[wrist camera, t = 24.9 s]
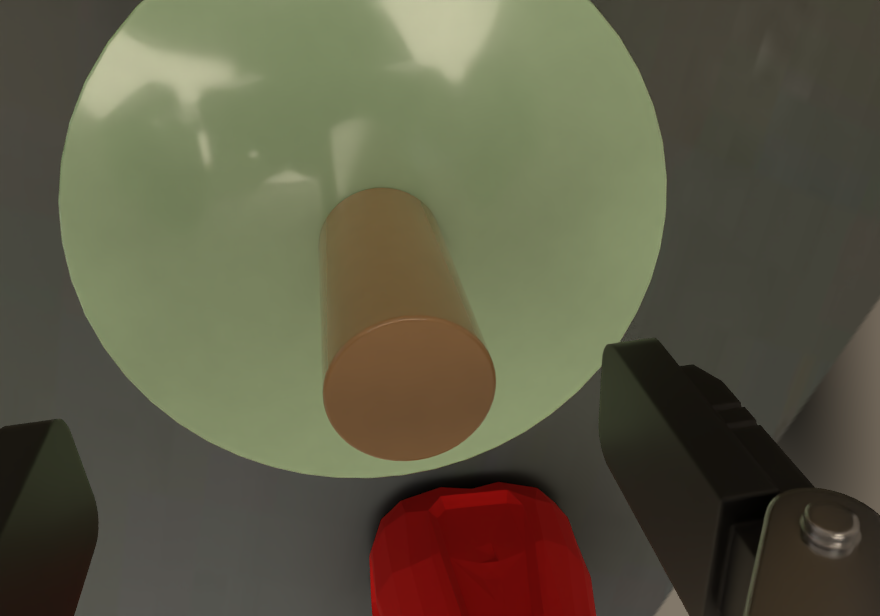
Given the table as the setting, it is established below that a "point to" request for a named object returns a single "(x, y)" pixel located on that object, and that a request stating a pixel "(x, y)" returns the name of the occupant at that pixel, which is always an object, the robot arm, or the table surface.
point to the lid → (361, 219)
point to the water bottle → (478, 556)
